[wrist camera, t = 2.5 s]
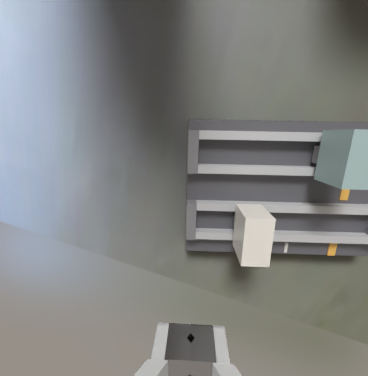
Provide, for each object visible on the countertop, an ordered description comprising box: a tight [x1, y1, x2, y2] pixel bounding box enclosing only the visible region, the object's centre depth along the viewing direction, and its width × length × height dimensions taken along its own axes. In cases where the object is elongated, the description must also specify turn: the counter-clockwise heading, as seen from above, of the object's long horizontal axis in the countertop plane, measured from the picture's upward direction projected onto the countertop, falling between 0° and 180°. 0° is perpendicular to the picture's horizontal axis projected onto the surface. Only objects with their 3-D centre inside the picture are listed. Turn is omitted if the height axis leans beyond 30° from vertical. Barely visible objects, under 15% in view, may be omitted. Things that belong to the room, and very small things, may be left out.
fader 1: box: [233, 204, 276, 267], centre depth 19 cm, size 2×4×5 cm, turn 179°
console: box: [186, 119, 368, 256], centre depth 22 cm, size 20×14×3 cm
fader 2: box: [312, 129, 368, 190], centre depth 18 cm, size 2×4×5 cm, turn 179°
